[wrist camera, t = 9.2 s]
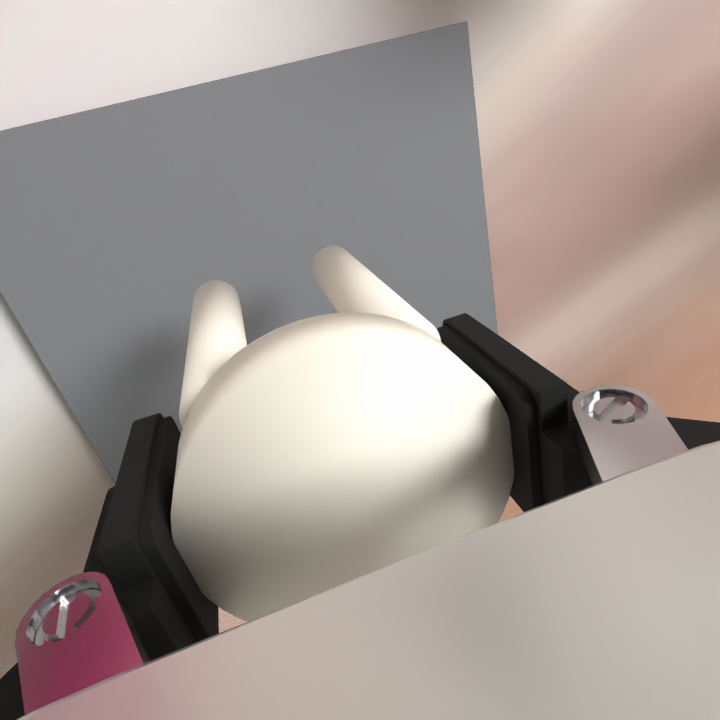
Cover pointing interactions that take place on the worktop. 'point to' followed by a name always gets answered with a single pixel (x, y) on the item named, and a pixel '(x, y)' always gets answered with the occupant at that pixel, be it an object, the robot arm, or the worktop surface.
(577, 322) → the worktop surface
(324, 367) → the stool
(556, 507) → the robot arm
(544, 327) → the worktop surface
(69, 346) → the mat
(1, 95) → the worktop surface
